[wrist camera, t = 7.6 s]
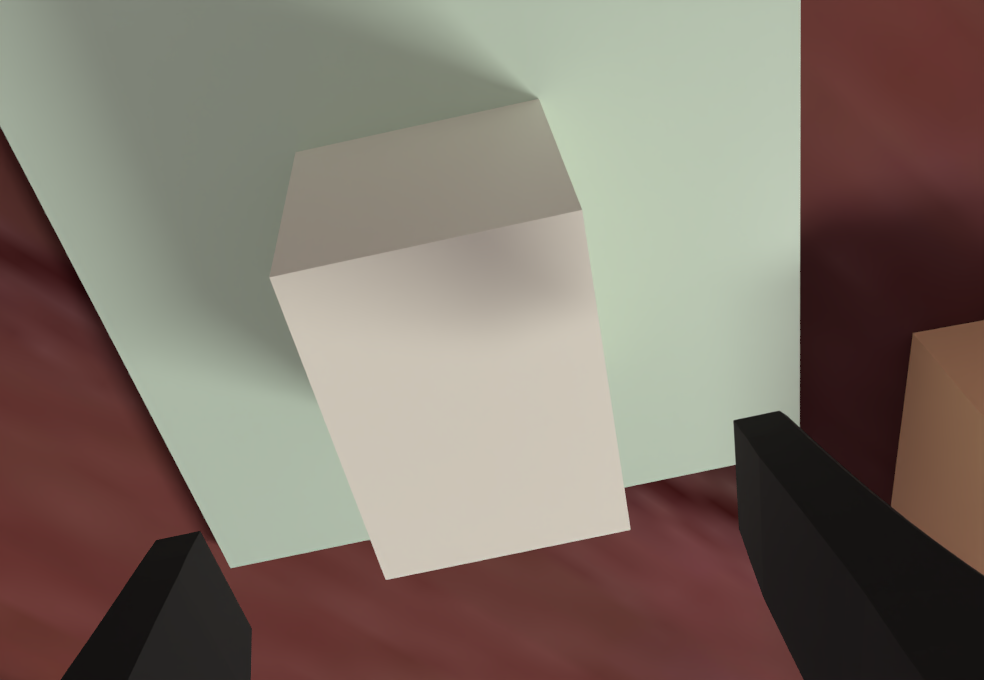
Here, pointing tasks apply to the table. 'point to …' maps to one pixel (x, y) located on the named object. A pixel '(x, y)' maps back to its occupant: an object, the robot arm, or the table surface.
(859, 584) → the robot arm
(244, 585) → the table surface
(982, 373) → the tan brick
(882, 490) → the table surface
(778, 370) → the baseplate
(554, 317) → the cream brick
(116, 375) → the table surface
